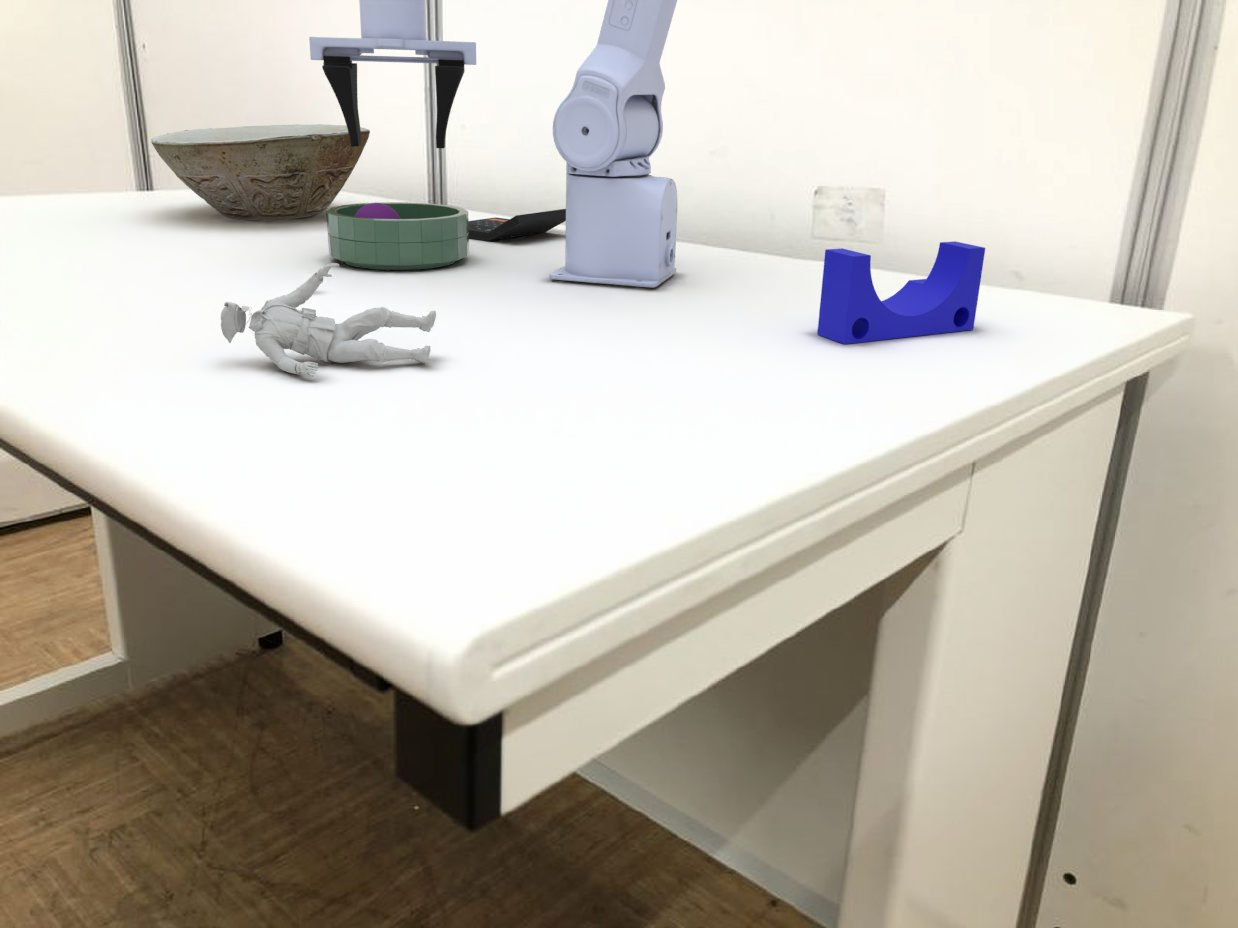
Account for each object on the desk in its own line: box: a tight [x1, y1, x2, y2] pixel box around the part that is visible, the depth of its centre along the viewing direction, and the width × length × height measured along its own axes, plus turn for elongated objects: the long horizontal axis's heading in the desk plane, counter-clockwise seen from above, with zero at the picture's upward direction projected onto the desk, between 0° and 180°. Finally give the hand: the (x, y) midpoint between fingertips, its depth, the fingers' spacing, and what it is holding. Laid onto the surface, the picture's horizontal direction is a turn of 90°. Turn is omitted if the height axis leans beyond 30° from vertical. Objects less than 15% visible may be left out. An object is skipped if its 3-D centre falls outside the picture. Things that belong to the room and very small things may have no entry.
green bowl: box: [325, 201, 470, 271], centre depth 98 cm, size 13×13×4 cm
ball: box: [354, 202, 401, 219], centre depth 98 cm, size 5×5×5 cm
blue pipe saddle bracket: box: [816, 240, 986, 345], centre depth 77 cm, size 12×4×6 cm, turn 118°
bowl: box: [150, 123, 371, 221], centre depth 122 cm, size 24×24×10 cm
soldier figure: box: [220, 262, 437, 378], centre depth 64 cm, size 8×5×12 cm
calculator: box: [468, 208, 566, 242], centre depth 115 cm, size 9×12×3 cm
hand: (398, 147), depth 98 cm, fingers open, 7 cm apart
